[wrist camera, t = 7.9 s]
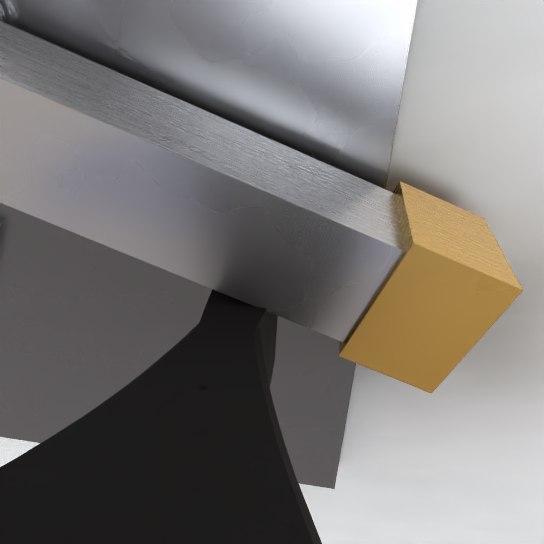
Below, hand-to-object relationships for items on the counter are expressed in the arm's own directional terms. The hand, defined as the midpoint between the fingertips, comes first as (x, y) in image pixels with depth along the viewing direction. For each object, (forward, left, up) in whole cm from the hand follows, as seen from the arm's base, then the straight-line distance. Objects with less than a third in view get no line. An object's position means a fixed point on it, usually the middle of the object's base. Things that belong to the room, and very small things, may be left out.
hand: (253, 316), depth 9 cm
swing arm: (-2, +3, -1) cm, 4 cm away
